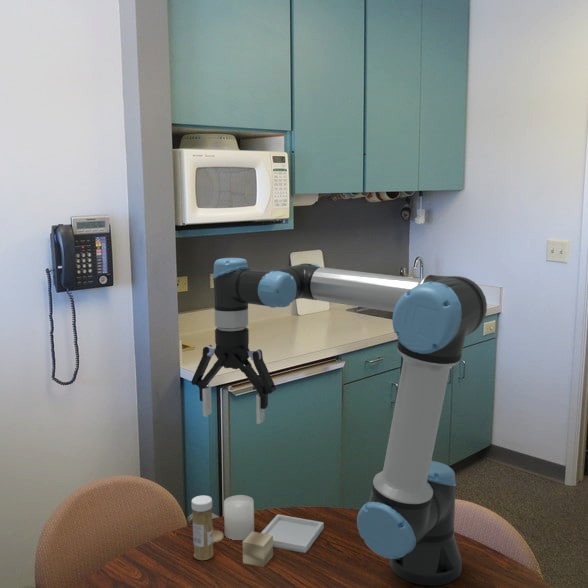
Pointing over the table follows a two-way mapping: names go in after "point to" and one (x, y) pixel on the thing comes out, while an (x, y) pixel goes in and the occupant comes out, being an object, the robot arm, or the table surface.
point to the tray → (293, 532)
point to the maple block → (258, 549)
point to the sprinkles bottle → (202, 527)
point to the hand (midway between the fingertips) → (233, 418)
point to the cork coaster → (217, 536)
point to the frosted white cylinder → (238, 517)
